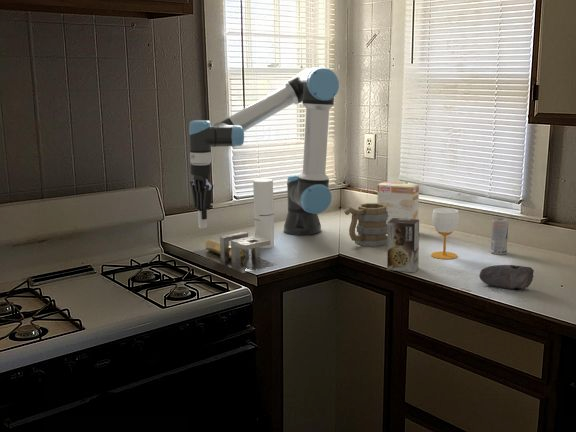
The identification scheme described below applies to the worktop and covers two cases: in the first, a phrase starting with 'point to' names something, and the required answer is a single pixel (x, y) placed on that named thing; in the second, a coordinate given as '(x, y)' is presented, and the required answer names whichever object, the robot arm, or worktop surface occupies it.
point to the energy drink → (499, 236)
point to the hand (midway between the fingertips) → (202, 227)
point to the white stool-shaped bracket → (247, 243)
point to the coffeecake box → (399, 200)
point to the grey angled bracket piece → (225, 245)
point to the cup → (445, 228)
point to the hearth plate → (244, 264)
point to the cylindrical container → (264, 210)
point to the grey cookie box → (403, 245)
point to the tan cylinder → (215, 248)
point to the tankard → (369, 224)
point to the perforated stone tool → (507, 276)
